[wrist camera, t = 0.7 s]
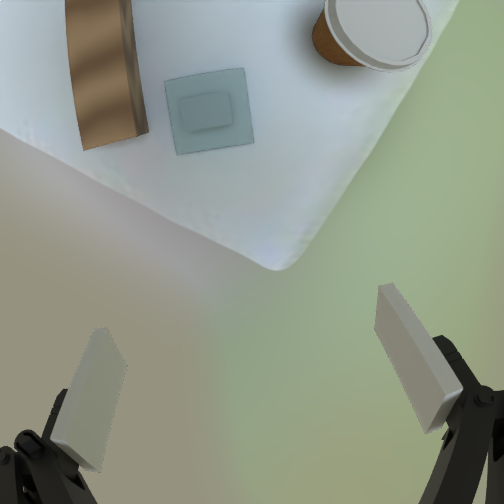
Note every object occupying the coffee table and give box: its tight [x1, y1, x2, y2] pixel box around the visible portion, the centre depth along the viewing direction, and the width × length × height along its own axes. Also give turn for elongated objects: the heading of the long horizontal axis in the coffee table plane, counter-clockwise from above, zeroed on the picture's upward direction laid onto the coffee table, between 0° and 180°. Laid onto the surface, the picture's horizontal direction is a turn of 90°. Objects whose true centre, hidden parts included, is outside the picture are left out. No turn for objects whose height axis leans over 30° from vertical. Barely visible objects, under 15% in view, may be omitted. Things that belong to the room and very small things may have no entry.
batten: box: [65, 0, 149, 151], centre depth 26 cm, size 18×6×5 cm, turn 7°
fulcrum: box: [164, 68, 254, 155], centre depth 28 cm, size 8×8×6 cm
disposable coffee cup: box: [312, 0, 432, 72], centre depth 23 cm, size 10×10×12 cm
